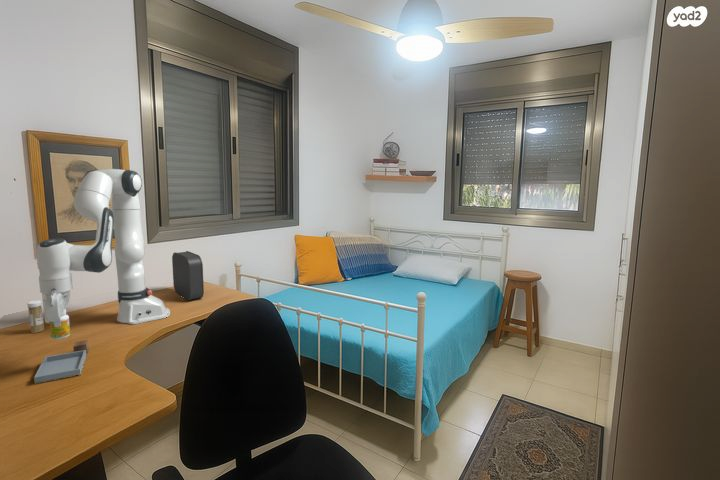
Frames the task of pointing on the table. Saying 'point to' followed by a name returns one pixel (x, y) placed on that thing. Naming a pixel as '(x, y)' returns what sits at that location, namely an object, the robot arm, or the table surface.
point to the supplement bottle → (63, 329)
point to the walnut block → (81, 346)
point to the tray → (60, 366)
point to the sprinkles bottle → (35, 316)
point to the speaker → (188, 275)
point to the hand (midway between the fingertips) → (60, 322)
